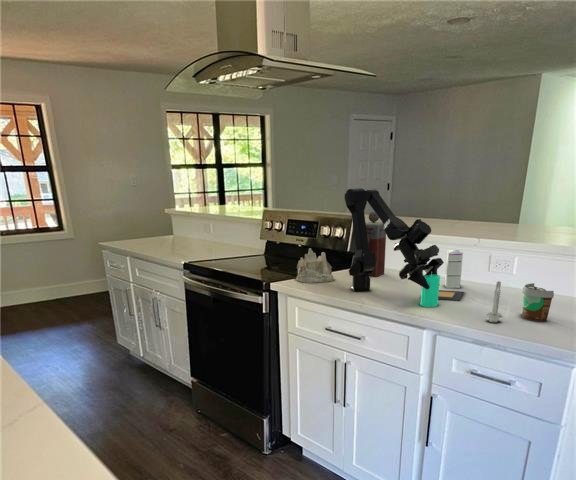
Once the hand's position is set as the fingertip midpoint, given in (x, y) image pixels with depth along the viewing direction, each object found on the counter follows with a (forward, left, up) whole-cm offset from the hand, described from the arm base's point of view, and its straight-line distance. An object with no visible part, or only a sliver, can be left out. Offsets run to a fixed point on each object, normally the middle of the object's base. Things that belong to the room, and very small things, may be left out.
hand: (433, 287), depth 179 cm
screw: (+12, -23, -7) cm, 27 cm away
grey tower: (+18, +28, -7) cm, 34 cm away
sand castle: (-36, +55, -7) cm, 66 cm away
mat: (+9, +14, -7) cm, 18 cm away
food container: (+25, -21, -7) cm, 33 cm away
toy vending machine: (-9, +59, -7) cm, 60 cm away
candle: (-1, +1, -7) cm, 7 cm away
